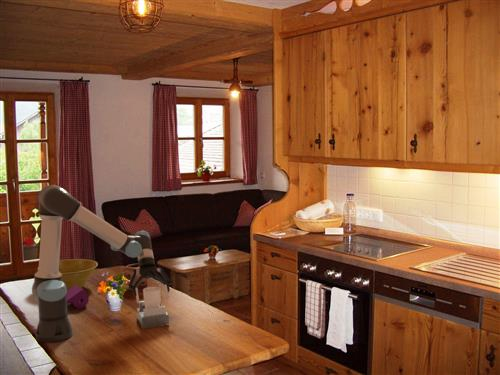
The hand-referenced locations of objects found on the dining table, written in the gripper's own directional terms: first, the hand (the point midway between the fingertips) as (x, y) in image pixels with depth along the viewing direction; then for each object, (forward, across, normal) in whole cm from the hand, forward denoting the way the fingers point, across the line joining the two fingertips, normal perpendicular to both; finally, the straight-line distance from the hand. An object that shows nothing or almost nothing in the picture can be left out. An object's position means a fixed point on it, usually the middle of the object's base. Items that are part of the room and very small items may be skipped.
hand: (153, 300), depth 246 cm
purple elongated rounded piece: (-19, +36, -36) cm, 55 cm away
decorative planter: (-33, -1, -49) cm, 59 cm away
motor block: (+6, 0, -10) cm, 11 cm away
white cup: (+2, 0, -6) cm, 6 cm away
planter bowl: (-44, +34, -60) cm, 81 cm away
